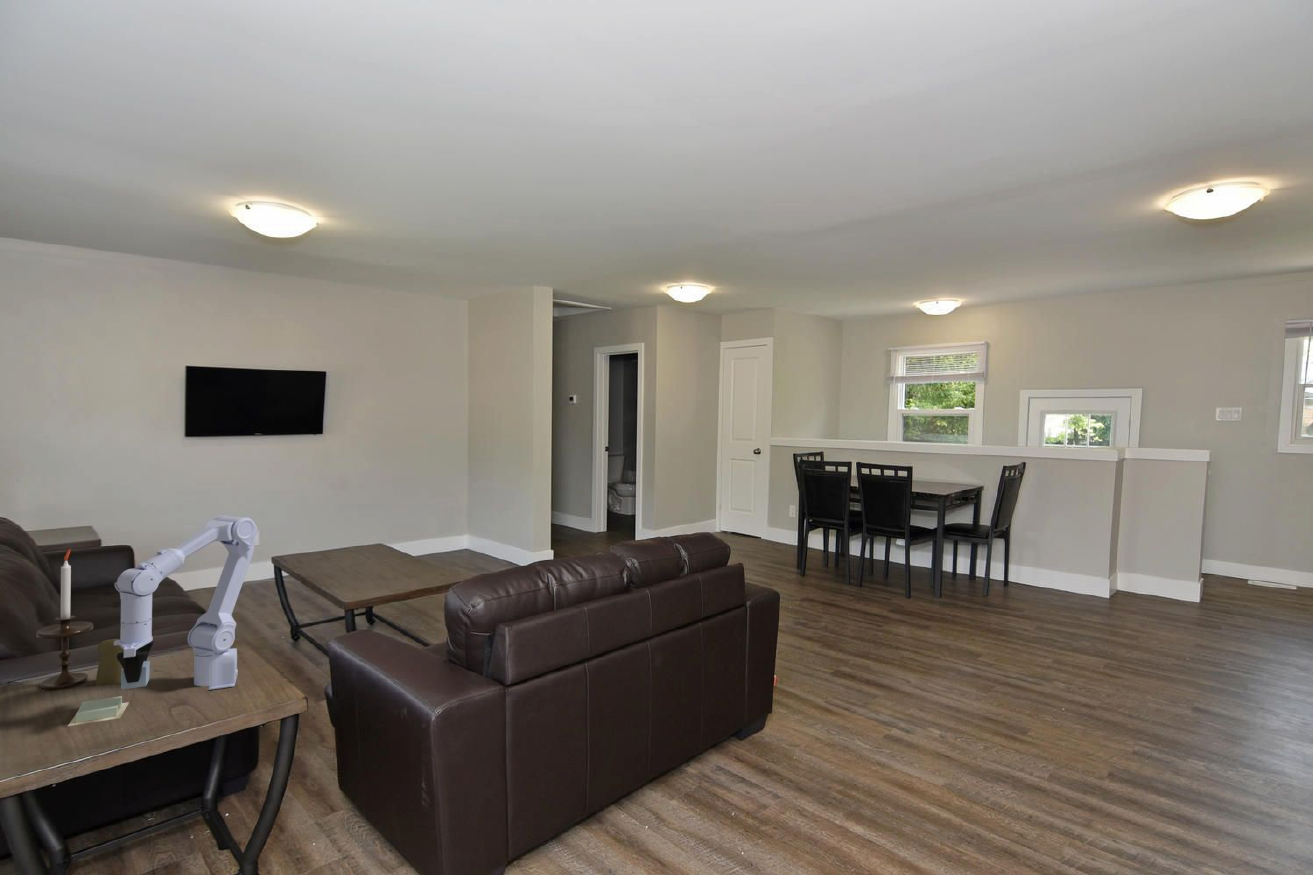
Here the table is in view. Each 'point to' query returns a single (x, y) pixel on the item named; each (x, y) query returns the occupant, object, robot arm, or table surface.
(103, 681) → the olive tall rounded piece
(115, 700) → the green block
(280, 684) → the table surface
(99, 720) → the birch slab
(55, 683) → the candlestick
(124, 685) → the blue cube
